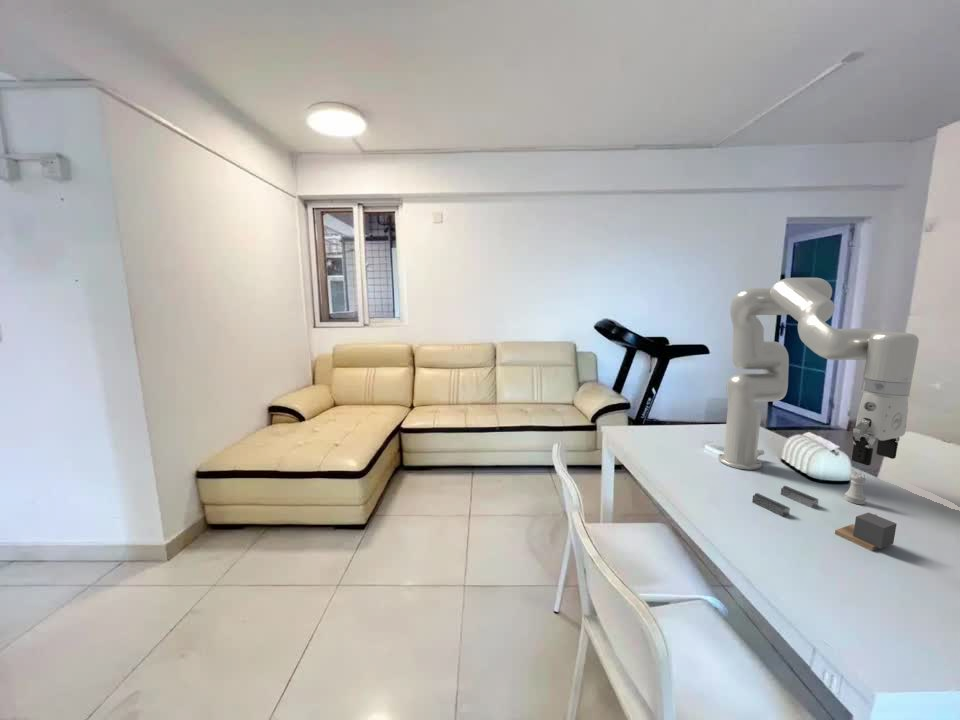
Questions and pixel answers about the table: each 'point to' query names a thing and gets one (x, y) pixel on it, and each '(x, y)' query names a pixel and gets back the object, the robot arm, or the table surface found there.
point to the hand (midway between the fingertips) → (873, 459)
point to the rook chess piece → (856, 489)
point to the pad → (848, 534)
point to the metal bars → (781, 508)
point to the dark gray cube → (874, 530)
